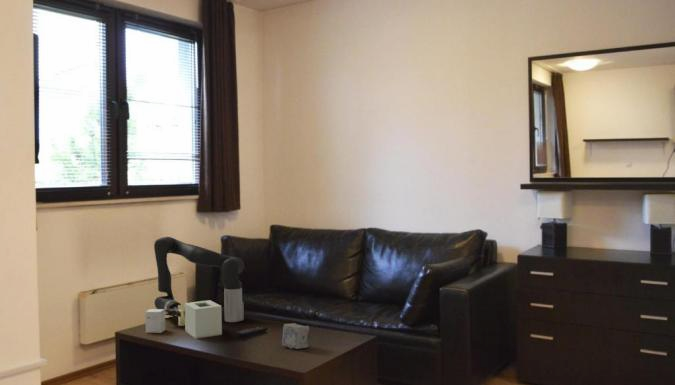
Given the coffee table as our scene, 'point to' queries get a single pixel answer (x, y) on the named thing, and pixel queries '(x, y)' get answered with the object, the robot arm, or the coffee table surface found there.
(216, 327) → the box
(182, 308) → the brass token
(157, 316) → the small box
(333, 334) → the coffee table surface
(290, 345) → the incense holder
